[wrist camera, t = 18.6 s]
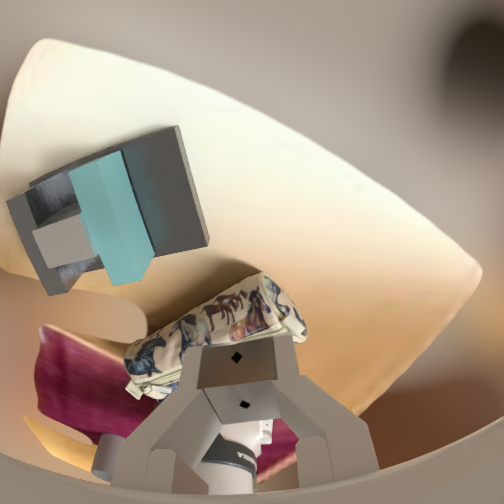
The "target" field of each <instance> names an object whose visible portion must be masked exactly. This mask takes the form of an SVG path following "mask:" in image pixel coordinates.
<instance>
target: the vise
mask: <svg viewBox="0 0 504 504" xmlns="http://www.w3.org/2000/svg"><path fill="white" fill-rule="evenodd" d="M119 150H120V152H121V155H122V158H123V162H124V165H125V168H126V172H127V175H128V178H129V181H130V184H131V187H132V191H133V194H134V197H135V200H136V203H137V206H138V209H139V212H140V214H141V217H142V220H143V223H144V226H145V229H146V232H147V234H148V237H149V240H150V242H151V245H152V248H153V251H154V253H155V255H154V256H153V258H154V257H159V256H163V255H168V254H173V253H178V252H183V251H188V250H192V249H197V248H202V247H207V246H208V243H209V238H210V237H209V234H208V231H207V227H206V224H205V220H204V217H203V213H202V210H201V206H200V202H199V199H198V195H197V192H196V188H195V184H194V181H193V177H192V173H191V170H190V166H189V162H188V159H187V155H186V151H185V147H184V143H183V139H182V136H181V132H180V128H179V126H176V127H172V128H169V129H166V130H162V131H159V132H156V133H153V134H149V135H146V136H143V137H140V138H137V139H134V140H131V141H128V142H125V143H123V144H120V145H117V146H114V147H111V148H109V149H106V150H103V151H101V152H98V153H96V154H93V155H91V156H88V157H86V158H83V159H81V160H78V161H76V162H74V163H71V164H69V165H67V166H64V167H62V168H60V169H57V170H55V171H53V172H51V173H49V174H47V175H44V176H42V177H40V178H38V179H36V180H34V181H32V182H30V183H29V186H30V188H28V189H27V190H25V191H23V192H21V193H20V194H18V195H16V196H14V197H13V198H11V199H9V200H8V201H6V203H7V206H8V208H9V211H10V214H11V216H12V219H13V221H14V224H15V226H16V229H17V231H18V234H19V236H20V238H21V241H22V243H23V245H24V247H25V250H26V252H27V254H28V256H29V258H30V260H31V262H32V264H33V267H34V269H35V271H36V273H37V275H38V277H39V279H40V280H41V282H42V284H43V286H44V288H45V290H46V291H47V294H48V295H49V296H52V295H57V294H62V293H68V292H69V290H70V289H71V288H72V286H73V285H74V284H75V283H76V281H77V280H78V279H79V277H80V276H81V275H82V273H84V272H89V271H93V270H98V269H103V268H105V267H104V264H103V262H102V260H101V258H100V255H99V253H98V255H97V256H96V257H94V258H90V259H86V260H82V261H78V262H74V263H70V264H66V265H62V266H58V267H54V268H50V269H48V266H47V264H46V262H45V260H44V258H43V256H42V254H41V252H40V249H39V247H38V245H37V243H36V240H35V238H34V236H33V233H32V231H33V230H34V229H35V228H36V227H38V226H39V225H40V224H42V223H43V222H44V221H46V220H47V219H48V218H50V217H51V216H52V215H54V214H55V213H56V212H58V211H59V210H60V209H62V208H64V207H67V206H70V205H72V204H75V203H78V200H77V197H76V194H75V191H74V188H73V185H72V182H71V179H70V176H69V173H68V172H70V171H72V170H74V169H76V168H78V167H80V166H82V165H84V164H86V163H88V162H90V161H93V160H95V159H97V158H100V157H103V156H105V155H108V154H111V153H114V152H116V151H119Z"/></svg>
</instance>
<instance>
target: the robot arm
mask: <svg viewBox="0 0 504 504" xmlns="http://www.w3.org/2000/svg"><path fill="white" fill-rule="evenodd" d="M278 418H282V420H283V421H284V422H285V423H286V424H287V425H288V427H289V428H290V429H291V430H292V431H293V432H294V433H295V434H296V435H297V437H298V438H299V439H300V440H299V441H298V443H297V444H296V455H297V464H298V475H299V486H300V488H297V489H290V490H282V491H273V492H263V493H253V479H254V478H255V472H256V468H257V465H256V458H257V457H258V456H259V455H260V454H261V444H270V443H272V441H271V434H272V423H273V419H278ZM0 504H504V416H503V417H501V418H500V419H498V420H496V421H494V422H493V423H491V424H489V425H487V426H485V427H484V428H482V429H480V430H478V431H476V432H474V433H472V434H470V435H468V436H466V437H464V438H462V439H460V440H458V441H456V442H454V443H451V444H449V445H447V446H445V447H442V448H440V449H438V450H435V451H433V452H430V453H428V454H425V455H423V456H421V457H418V458H415V459H412V460H410V461H407V462H404V463H401V464H398V465H395V466H392V467H389V468H386V469H383V470H380V469H379V465H378V461H377V458H376V454H375V451H374V447H373V444H372V440H371V437H370V433H369V430H368V426H367V423H365V422H364V421H363V420H361V419H360V418H359V417H357V416H356V415H355V414H354V413H352V412H351V411H350V410H348V409H347V408H346V407H345V406H343V405H342V404H341V403H340V402H338V401H337V400H336V399H334V398H333V397H332V396H331V395H329V394H328V393H327V392H326V391H324V390H323V389H322V388H321V387H320V386H318V385H317V384H316V383H315V382H313V381H312V380H311V379H310V378H309V377H307V376H306V375H299V370H298V364H297V358H296V353H295V347H294V341H293V336H292V332H291V331H289V332H284V333H279V334H274V335H270V336H264V337H259V338H253V339H247V340H241V341H235V342H227V343H219V344H210V345H204V346H194V347H188V348H187V349H186V351H185V354H184V359H183V364H182V369H181V374H180V379H179V385H178V390H176V391H172V392H171V393H170V394H169V395H168V397H167V398H166V399H165V400H164V401H163V402H162V403H161V404H160V405H159V406H158V407H157V408H156V409H155V410H154V411H153V412H152V413H151V414H150V415H149V416H148V417H147V418H146V419H145V420H144V421H143V422H142V423H141V424H140V425H139V426H138V427H137V428H136V429H135V430H134V431H133V432H132V433H131V434H130V435H129V436H128V437H127V438H126V439H125V440H124V441H123V442H122V443H121V444H120V447H119V451H118V455H117V459H116V463H115V467H114V471H113V475H112V480H111V484H110V486H109V485H104V484H100V483H94V482H90V481H85V480H81V479H77V478H73V477H70V476H66V475H62V474H59V473H55V472H52V471H49V470H46V469H42V468H39V467H36V466H33V465H31V464H28V463H25V462H22V461H20V460H17V459H14V458H12V457H9V456H7V455H5V454H2V453H0Z"/></svg>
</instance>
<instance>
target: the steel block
mask: <svg viewBox="0 0 504 504" xmlns="http://www.w3.org/2000/svg"><path fill="white" fill-rule="evenodd" d="M32 233H33V236H34V238H35V240H36V243H37V245H38V247H39V249H40V252H41V254H42V256H43V258H44V260H45V262H46V264H47V266H48V269H50V268H54V267H58V266H62V265H66V264H70V263H74V262H78V261H82V260H86V259H90V258H94V257H96V256H97V255H98V251H97V248H96V246H95V244H94V241H93V239H92V236H91V234H90V231H89V229H88V226H87V224H86V221H85V219H84V216H83V213H82V211H81V208H80V205H79V203H75V204H72V205H70V206H67V207H64V208H62V209H60V210H59V211H58V212H56V213H55V214H54V215H52V216H51V217H50V218H48V219H47V220H46V221H44V222H43V223H42V224H40V225H39V226H38V227H36V228H35V229H34V230H33V231H32Z"/></svg>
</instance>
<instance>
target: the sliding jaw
mask: <svg viewBox="0 0 504 504" xmlns="http://www.w3.org/2000/svg"><path fill="white" fill-rule="evenodd" d="M68 173H69V176H70V179H71V182H72V185H73V188H74V191H75V194H76V197H77V200H78V203H79V205H80V208H81V211H82V213H83V216H84V219H85V221H86V224H87V226H88V229H89V231H90V234H91V236H92V239H93V241H94V244H95V246H96V248H97V251H98V253H99V255H100V258H101V260H102V262H103V264H104V267H105V269H106V271H107V273H108V275H109V278H110V280H111V282H112V284H113V286H114V285H119V284H125V283H130V282H136V281H141V280H142V278H143V276H144V274H145V272H146V270H147V268H148V266H149V264H150V262H151V260H152V258H153V256H154V255H155V253H154V251H153V248H152V245H151V242H150V240H149V237H148V234H147V232H146V229H145V226H144V223H143V220H142V217H141V214H140V212H139V209H138V206H137V203H136V200H135V197H134V194H133V191H132V187H131V184H130V181H129V178H128V175H127V172H126V168H125V165H124V162H123V158H122V155H121V152H120V150H119V151H116V152H114V153H111V154H108V155H105V156H103V157H100V158H97V159H95V160H93V161H90V162H88V163H86V164H84V165H82V166H80V167H78V168H76V169H74V170H72V171H70V172H68Z"/></svg>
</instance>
